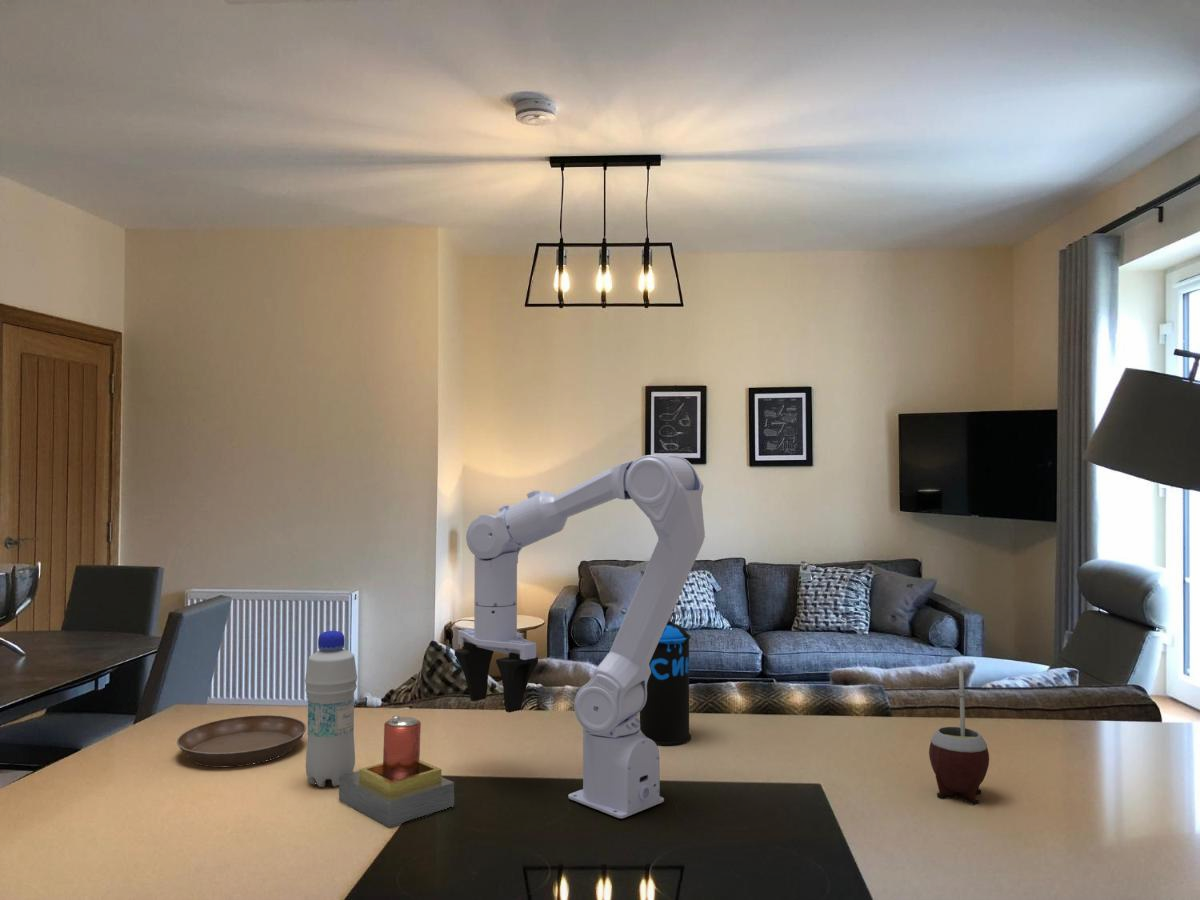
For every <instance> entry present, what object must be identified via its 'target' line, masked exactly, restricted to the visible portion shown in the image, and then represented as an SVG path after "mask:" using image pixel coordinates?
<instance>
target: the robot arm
mask: <svg viewBox="0 0 1200 900" xmlns="http://www.w3.org/2000/svg"><path fill="white" fill-rule="evenodd" d="M540 491H541V490H531V491H530V492H528V493H526V496H527V498H526V499H523V500H522V501H519V502H517V503H515V504H513V505H510V506H509V504H508V505H507V504H506V505H502V506H500V507H499V508H498V511H499V512H497V514H493V515H492V514H487V513H486V514H479V515H478V516H477V518H475V519H474V520H472V521H471V522H470V524H469V526H468V527H467V530H466V535H465V536H466V537H465V538H466V539H465V540H466V544H467V547H468V549H469V551H470V553H472V554H473V555H474V587H473V589H474V593H473V594H474V596H473V597H474V600H473V601H474V605H473V607H474V608H473V609H474V610H473V611H474V614H473V615H474V622H473V624H474V625H473V626H474V627H473V628H472V629H471V628H465V629H461V630H460V629H459V630H458V632H457V645H460V646H462V647H461V648H458V649H455V650H454V656H455V658H456V660H457V662H458V664H459V665H460V667H461V670H462V672H463V675H464V678H465V681H466V685H467V690H468V695H469V698H470V701H471V702H479V701H481V700H486V699H487V698H486V697H487V692H488V685H489V671H490V665H491V661H492V658H493V655H494V652H496V653H501V654H506V655H508V656H506V657H501V658H498V659H496V660H495V663H496V665H497V669H498V671H499V674H500V677H501V684H502V691H503V692H502V693H503V704H504V710H505V712H506V713H514V712H517V711H521V710H522V709H521V708H522V707H523V706H522V705H523V702H524V698H525V694H526V690H527V688H528V687H527V686H528V685H529V684H528V683H529V681H530V678H531V676H532V675H533V672H534V671H535V669H536V666H537V665H538V663H539V656H537V643H536V642H532V641H530V640H528V639H526V638H524V637H523V634H522V633H521V632H518V624H517V623H518V564H519V554H520V552H521V551H522V549H523V548H524V547H527V546H530V545H532V544H534V543H537V542H539V541H541V540H543V539H546V538H548V537H550V536H552V535H555V534H557V533H559V532H561V531H563V529H564V528H565V526H566V523H567V521H568V518H570V517H572V516H574V515H577V514H579V513H583V512H585V511H587V510H591V509H593V508H595V507H598V506H600V505H603V504H605V503H608V502H610V501H613V500H615V499H618V500H624V501H625V500H632V501H633V502H634V503H635V505H636V506H637V507H638V508H639V509H640V511H642V512H643V513H644V515H645V516H646V517H647V518H648V519H649V520H650V523H651V525H652V526H653V529H654V531H655V533H656V536H657V539H658V540H657V542H656V545H655V548H654V549H653V552H652V554H651V557H650V559H649V560H648V562H647V566H646V568H645V570H644V573H643V575H642V577H641V579H640V581H639V584H638V586H637V589H636V591H635V593H634V596H633V597H632V599H631V602H630V604H629V606H628V609H627V610H626V614H625V616H624V619H623V620H622V622H621V625H620V627H619V629H618V631H617V634H616V635H615V639H614V641H613V643H612V645H611V648H610V650H609V652H608V653H607V654H606V656H605V657H604V658H603V659H602V661H600V663H599V664H598V666H597V667H596V669H595V670H594V672H593V673H592V674H593V675H592V676H591V678H590V679H589V681H588V682H586V683H585V684H583V685H582V686H581V687H580V689H578V691H577V693H576V695H575V697H574V702H573V703H574V704H573V707H574V708H573V709H574V714H575V716H576V719H577V721H578V723H579V724H580V725H581V726H582V728H583V729H582V780H583V781H582V789H579V790H576V791H574V792H571V793H569V794H568V796H567V797H568V799H569V800H571V801H575V802H577V803H579V804H581V805H584V806H587V807H589V808H592V809H594V810H598V811H600V812H602V813H605V814H607V815H610V816H612V817H615V818H618V819H625V818H628V817H630V816H632V815H635V814H637V813H639V812H642V811H645V810H647V809H650V808H652V807H654V806H656V805H660V804H662V803H664V802H665V798H664V797H662V796H661V795H660V794H661V793H660V791H661V790H660V788H661V787H660V786H661V785H660V783H661V782H660V779H661V778H660V777H661V776H660V775H661V773H660V768H661V767H660V762H661V761H660V751H659V750H660V749H659V747H658V745H656V743H655V742H654V741H653V740H651V739H649V738H647V737H646V736H645V735H644V734H643V733H642V731H641V730H640V711H641V710H642V709H643V707H644V705H645V703H646V700H647V682H648V679H649V676H650V674H651V669H650V666H649V663H650V660H651V658H652V656H653V654H654V651H655V649H656V647H657V645H658V642H659V640H660V638H661V636H662V634H663V631H664V629H665V627H666V625H667V622H668V620H669V618H670V616H672V613H673V611H674V609H675V606H676V605H677V602H678V600H679V597H680V595H681V593H682V590H683V589H684V586H685V584H686V582H687V579H688V577H689V575H690V573H691V570H692V568H693V567H694V564H695V562H696V559H697V557H698V555H699V553H700V550H701V548H702V546H703V544H704V542H705V541H704V540H705V537H706V536H705V535H706V533H705V532H706V531H705V522H704V521H705V520H704V509H703V503H702V502H703V501H702V497H703V491H704V485H703V482H702V480H701V478H700V476H699V474H698V473H697V471H696V469H695V467H694V466H693V464H692V463H691V462H689V460H688V459H686V458H683V457H681V456H677V455H676V456H675V455H674V456H673V455H672V456H659V455H655V454H647V455H643V456H640V457H638V458H636V459H635V460H630V461H626V462H622V463H619V464H617V465H615V466H613V467H611V468H609V469H607V470H605V471H603V472H601V473H599V474H597V475H594V476H592V477H591V478H589V479H586V480H585V481H583V482H581V483H579V484H577V485H575V486H573V487H572V488H569V489H567V490H565V491H563V492H562V493H559V494H557V495H556V494H554V493H552V492H551V491H548V490H543V491H541V492H540Z"/></svg>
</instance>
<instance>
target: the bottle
mask: <svg viewBox="0 0 1200 900" xmlns="http://www.w3.org/2000/svg"><path fill="white" fill-rule="evenodd" d="M317 644H318V645H317V649H318V650H317V651H316V652H314V653H313V654H310V655H309V657H308V659H307V665H306V666H307V667H306V671H305V679H304V682H305V683H304V684H305V692H306V695H307V742H306V752H305V754H306V755H305V773H306V778H307V781H308V782H309V784H311V785H313V784H315V783H317V784H316V785H318V787H319V788H325V787H326V781H327V780H331V785H332V787H337V786H339V776H342V775H346V774H349V773H353V772H354V768H355V766H356V765H355V764H356V750H355V737H354V736H355V732H354V731H355V730H354V729H355V691H356V689H357V687H358V686H357V681H358V674H357V667H356V666H357V665H356V658H355V654H354V653H353V652H351V651H349V650H347V649H345V635H344V633H343V632H342V631H338V630H327V631H323V632H322V633H320V635H319V636H318V640H317Z"/></svg>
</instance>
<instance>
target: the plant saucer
mask: <svg viewBox="0 0 1200 900" xmlns="http://www.w3.org/2000/svg"><path fill="white" fill-rule="evenodd" d="M306 730H307V725H306V723H305V722H304V721H302V720H300V719H297V718H294V717H290V716H284V715H267V714H264V715H263V714H262V715H261V714H260V715H245V716H238V717H237V716H236V717H230V718H224V719H220V720H219V719H218V720H215V721H210V722H207V723H204V724H201V725H198V726H195V727H193V728H191V729H189V730H186V731H185V732H183V733H182V734H181V735H179V736H178V738H177V740H176V745H177V746H178V748H179V749H180V751H181V752H182V753H183V754H184V755H185V756H186V757H187V758H188V759H189V760H191V761H192V763H195V764H197V763H198V765H200V764H202V765H201V766H204V765H208V766H207V767H212V766H234V767H240V766H239V765H244V766H248V765H247V764H251V765H254V764H253V763H257V764H259V763H258V762H261V763H264V762H263V761H265V762H267V761H266V760H269V761H271V760H270V759H272V760H274V759H273V758H275V759H277V758H276V757H278V756H280V757H282V756H281V755H283V754H285V753H286V754H288V753H289V752H291V749H292V750H293V749H294V748H295V747H296V746H297V744H298V743H299V742H300V741H301V739H302V738H303V736H304V734H305V732H306ZM287 752H288V753H287ZM286 754H285V755H286ZM283 756H284V755H283ZM278 758H279V757H278Z"/></svg>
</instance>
